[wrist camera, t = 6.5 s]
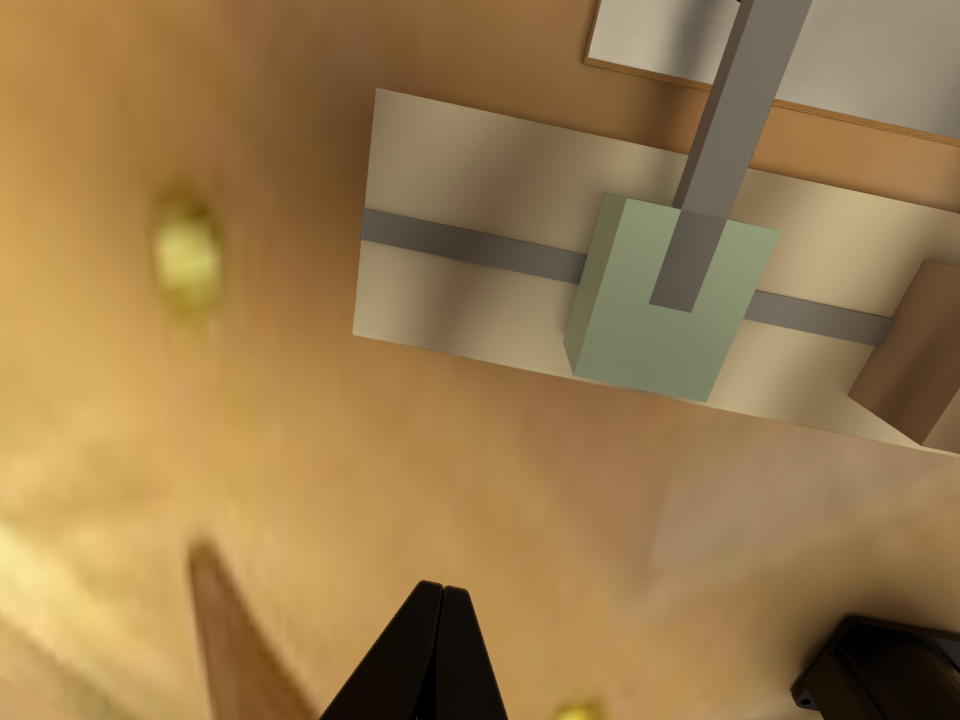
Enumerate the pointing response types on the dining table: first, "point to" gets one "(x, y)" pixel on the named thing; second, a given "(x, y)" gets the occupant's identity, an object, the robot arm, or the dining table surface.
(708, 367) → the slider leg
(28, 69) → the dining table surface
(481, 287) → the board
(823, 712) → the robot arm
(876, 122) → the bolt hole plate
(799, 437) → the dining table surface
